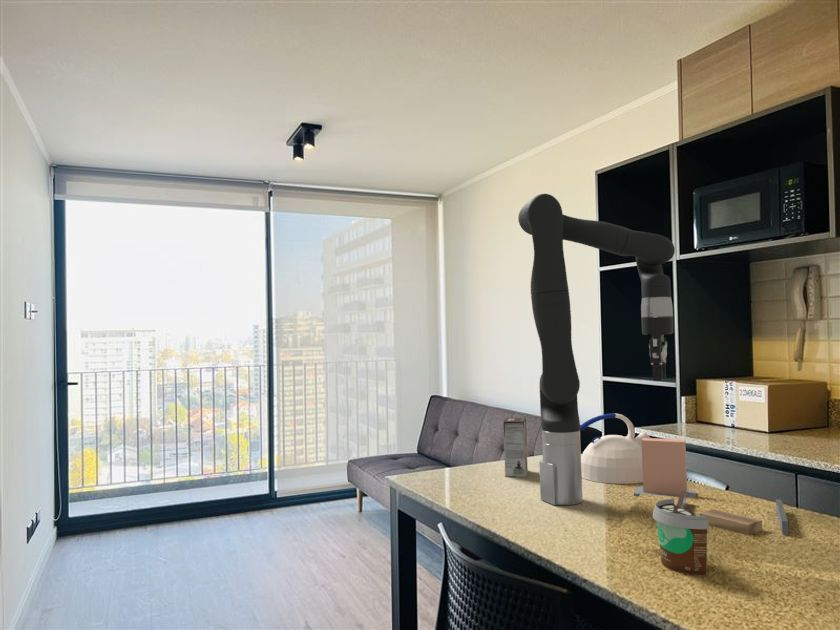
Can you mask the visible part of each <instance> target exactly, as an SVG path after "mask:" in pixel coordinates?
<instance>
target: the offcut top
mask: <svg viewBox="0 0 840 630" xmlns="http://www.w3.org/2000/svg"><path fill="white" fill-rule="evenodd" d="M699 516H707V520H708V524H709V527H710V526H712V527H715V528H718V529H723V530H727V531H730V532H735V533H739V534H742V535H747V536H751V535H753V534H755V533H758V532H761V531H763V520H762V519H759V518H754V517H750V516H747V515H742V514H736V513H733V512H729V511H724V510H719V509H715V508H713V509H710V510H706V511H703V512H699Z"/></svg>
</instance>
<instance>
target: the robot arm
mask: <svg viewBox="0 0 840 630" xmlns="http://www.w3.org/2000/svg"><path fill="white" fill-rule="evenodd" d="M517 219H518V221H517V222H518V225H519V227H521V229H522V231H524V232H525V233H526V234H528V235H531V237H532V244H533V262H532V269H531V275H530V276H531V277H530V300H531V308H532V314H533V319H534V323H535V327H536V332H537V335H538V338H539V342H540V348H541V363H542V364H541V365H542V366H541V368H542V369H541V371H542V372H541V375H540V377H539V405H540V406H539V407H540V420H541V421H540V422H541V442H542V443H541V446H542V449H541V450H542V460H540V461H539V464H538V465H539V486H540V488H539V489H540V490H539V491H540V494H539V496H540V500H541V501H544V502H546V503H549V504H551V505H552V506H553V505H554V506H555V505H557V506H558V505H561V506H562V505H563V506H568V505H569V506H571V505H578V504H580V503H582V502H583V481H582V479H583V478H582V474H581V456H582V451H581V449H582V448H581V430H580V426H581V423H580V420H581V419H580V416H579V408H578V406H579V405H578V393H579V392H580V387H581V386H580V384H581V383H580V378H579V373H578V370H577V367H576V360H575V355H574V351H573V344H572V342H573V341H572V313H571V312H572V311H571V300H570V299H571V298H570V292H569V290H570V289H569V284H568V275H567V267H566V262H565V261H566V260H565V251H564V242H563V241H569V242H572V243H576V244H577V243H578V244H580V245H584V246H586V247H587V246H588V247H592V248H595V249H597V250H601V251H604V252H608V253H611V254H613V255H617V256H622V257H635V263H636V267H637V271H638V272H637V273H638V275H639V278H640V283H641V288H640V289H641V304H640V311H641V312H640V314H641V315H640V316H641V333H642V335H650V336H651V338H650V339H649V340H648V341H649V342H648V347H649V357H650V359H649V362H650V365H651V371H652V374H651V375H652V381H653V382H654V381H656V382H658V381H660V382H661V381H662V380H663V379H665V378H666V377H667V375H666V363H667V360H668V359H667V355H668V350H667V348H668V341H667V339H666V337H664V335H673V333H674V314H673V313H674V310H673V302H672V301H673V300H672V287H671V278H670V276H668V275H666V274H664V270H663V265H662V264H666V263H668V262H669V261H670V260H672V259H673V257H674V255H675V251H676V250H675V245H674V243H673V242H672V241H671V239H669V238H668V237H666V236H664V235H660V234H657V233H651V232H645V231H637V230H633V229H630V228H627V227H624V226H622V225H617V224H614V223H611V222H606V221H601V220H593V219H592V220H591V219H584V218H583V219H582V218H577V217H573V216H570V215H566V214H564V213H563V209H562V206H561V204H560V202H559V200H558V199H557V198H556V197H554V195H552V194H548V193H541V194H537V195H535V196H534V197H532V198H531V199H529V201H527V202H526V203H525V204H524V205H523V206H522V207H521V209H520V210H519V212H518V218H517Z"/></svg>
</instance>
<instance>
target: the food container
mask: <svg viewBox="0 0 840 630" xmlns="http://www.w3.org/2000/svg"><path fill="white" fill-rule="evenodd" d="M652 518H653V519H654V520H655V521H656V524H657V525H656V526H657V534H658V541H659V551H660V560H661V564H662V566H663V567H665V568H667V569H668V570H671V571H674V572H677V573H680V574H686V575H695V576H707V569H708V567H707V565H708V562H707V561H708V560H707V558H708V557H707V555H708V530H710V525H709V524H708V520H707V516H700V515H696V514H695V513H694V512H692V511H691V510H690V509H688V508H685V509H684V508H680V507H678V506H677V504H675V498H667V499H662V500H659V501H657V502H655V506H654V507H653V511H652Z"/></svg>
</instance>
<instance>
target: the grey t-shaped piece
mask: <svg viewBox="0 0 840 630" xmlns="http://www.w3.org/2000/svg"><path fill="white" fill-rule="evenodd" d="M641 495H652V496H664V497H675V498H677V497H678V498H679V496H680V495H672V494H659V493H647V492H643V486H642V485H641V486H637V487H636V488H635V491H634V492H633V496H635V497H640V496H641ZM696 497H697V490H692V489H691V490H690V489H689V490H688V489H687V496H686V499H688V498H689V499H696Z"/></svg>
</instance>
